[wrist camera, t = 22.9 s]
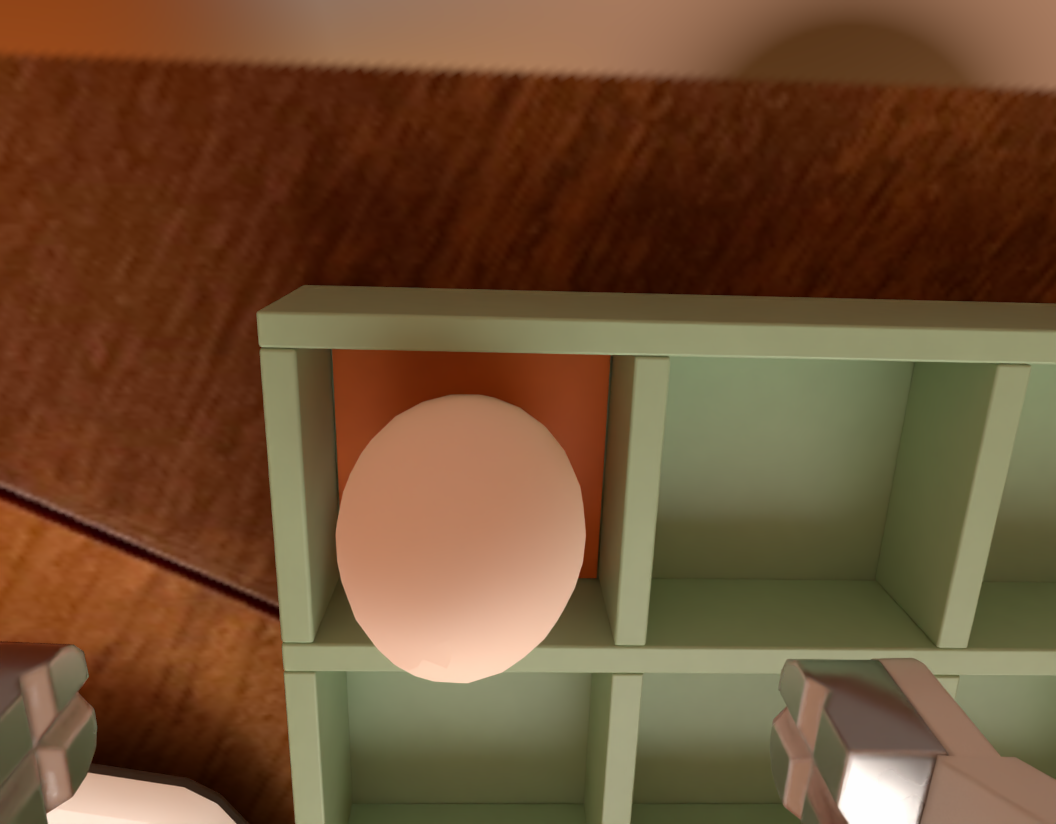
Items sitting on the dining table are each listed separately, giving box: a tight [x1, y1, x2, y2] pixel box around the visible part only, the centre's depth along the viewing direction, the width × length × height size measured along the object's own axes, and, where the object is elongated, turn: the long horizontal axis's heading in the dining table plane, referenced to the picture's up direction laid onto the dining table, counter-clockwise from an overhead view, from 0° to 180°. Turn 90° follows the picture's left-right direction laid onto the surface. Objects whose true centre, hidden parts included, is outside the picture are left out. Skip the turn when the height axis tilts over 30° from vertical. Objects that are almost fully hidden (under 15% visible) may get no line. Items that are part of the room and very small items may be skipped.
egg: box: [335, 394, 586, 683], centre depth 15 cm, size 5×5×7 cm
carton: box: [257, 285, 1056, 824], centre depth 18 cm, size 15×22×4 cm
